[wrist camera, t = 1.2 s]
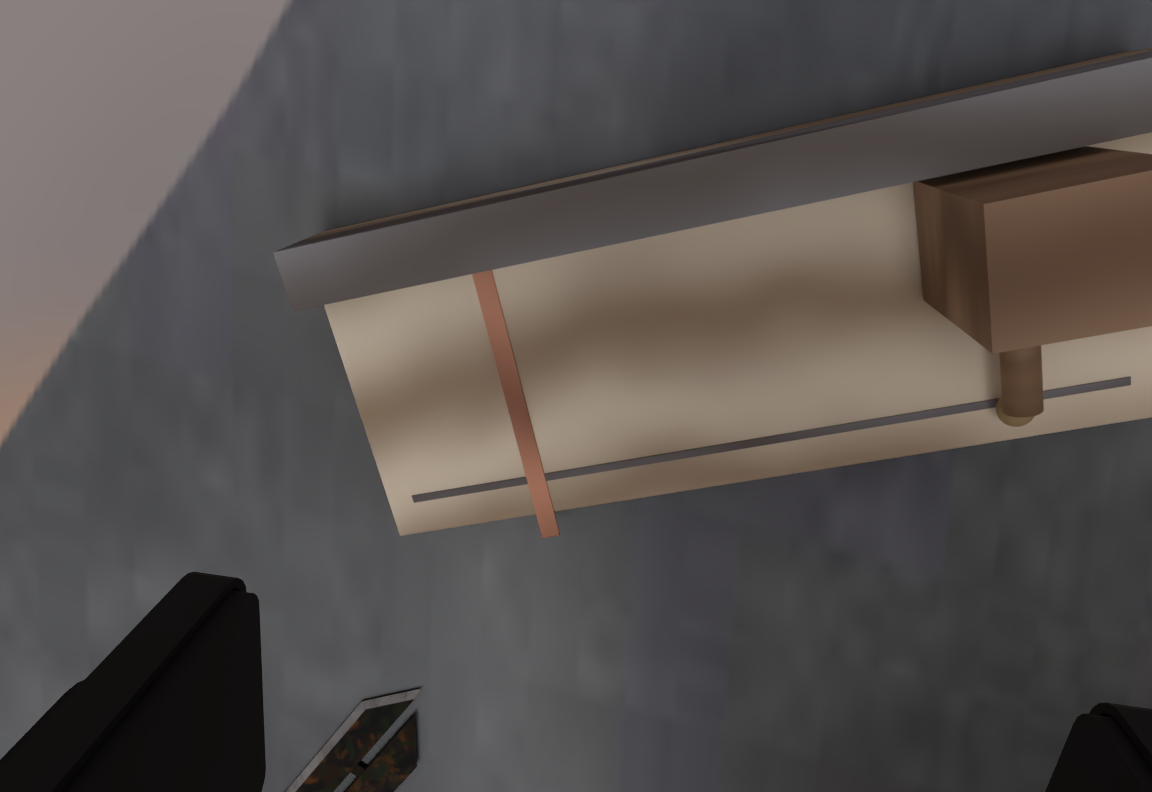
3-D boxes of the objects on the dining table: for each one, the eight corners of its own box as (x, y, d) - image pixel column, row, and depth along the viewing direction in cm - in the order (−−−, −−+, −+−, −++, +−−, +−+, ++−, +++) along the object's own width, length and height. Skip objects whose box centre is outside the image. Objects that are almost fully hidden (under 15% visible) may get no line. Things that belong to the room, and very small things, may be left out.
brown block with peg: (1086, 406, 28) (1193, 484, 23) (934, 430, 29) (1001, 511, 23) (1080, 145, 25) (1201, 160, 20) (913, 180, 26) (983, 204, 21)
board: (1130, 420, 30) (1204, 471, 26) (420, 532, 35) (389, 591, 31) (1129, 51, 26) (1216, 43, 22) (323, 231, 31) (272, 252, 27)
